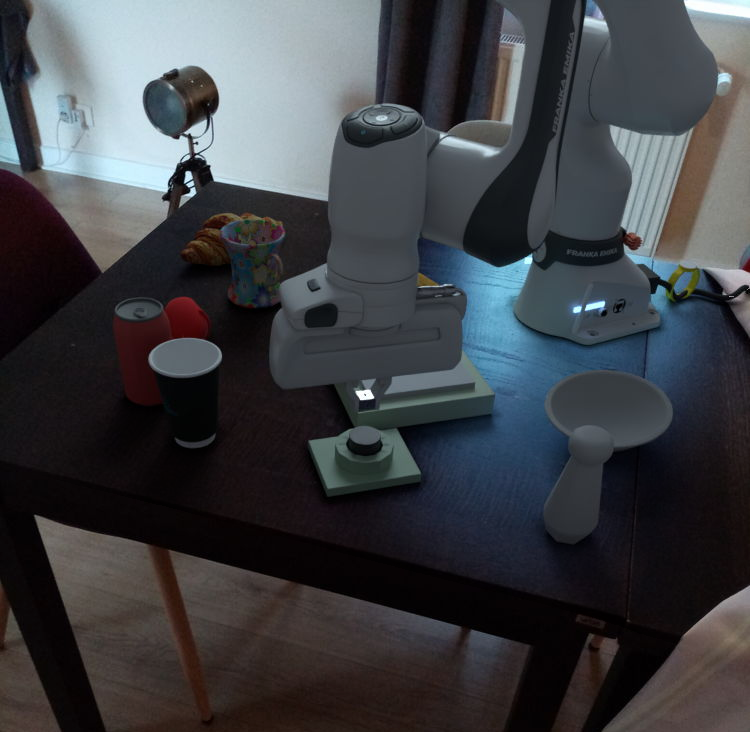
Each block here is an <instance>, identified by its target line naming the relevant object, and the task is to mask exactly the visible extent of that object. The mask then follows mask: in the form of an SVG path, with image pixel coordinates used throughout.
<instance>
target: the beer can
mask: <svg viewBox="0 0 750 732" xmlns="http://www.w3.org/2000/svg"><path fill="white" fill-rule="evenodd" d="M113 312H114V316H113V321H112V330H113V335H114V341H115V346H116V350H117V356H118V361H119V367H120V371H121V377H122V382H123V386H124V392H125V396H126V397H127V399H128V400H129V401H131V402H132V403H134V404H135V405H138V406H142V407H156V406H161V405H163V402H162V398H161V395H160V391H159V388H158V384H157V381H156V378H155V374H154V371H153V369H152V368H151V366H150V364H149V361H148V358H149V355H150V353H151V351H152V350H153V349H154V348H156V347H157V346H158V345H160V344H162V343H164V342H167V341H170V340H172V335H171V328H170V322H169V319H168V317H167V315H166V313H165V311H164V305H163V304H162V302H160V301H159V300H156V299H154V298H150V297H132V298H128V299H125V300H123V301H120V302H119V303H118V304H117V305H116V306H115V308H114V311H113Z"/></svg>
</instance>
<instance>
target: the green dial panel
mask: <svg viewBox="0 0 750 732" xmlns="http://www.w3.org/2000/svg"><path fill="white" fill-rule="evenodd" d="M352 429H353V428H348V429H347V430H346V431H344V432H342V433H340V434H339V435H338V436H332V437H325V438H318V439H317V438H316V439H311V440H308V443H307V449H308V451H309V454H310V456H311V459H312V461H313V464H314V466H315V469H316V472H317V474H318V477H319V479H320V482H321V485H322V487H323V490H324V492H325V495H326V497H328V498H329V497H334V496H336V497H337V496H342V495H347V494H354V493H360V492H365V491H372V490H378V489H385V488H390V487H391V488H392V487H397V486H402V485H408V484H409V485H410V484H415V483H420V482H421V480H422V473H421V470H420V469H419V467H418V465H417V463H416V461H415V460H414V457H413V455H412V454H411V452H410V450H409V448H408V447H407V445H406V442H405V441H404V439H403V437H402V436H401V434H400V431H399V430H398V427H396V428H389V429H382V430H378V431H379V432H380V434H381V441H380V450H379V452H378V453H377V454H375V455H371V456H361V455H355V454H354V453H352V452H351V451H350V450H349V433H350V431H351V430H352Z"/></svg>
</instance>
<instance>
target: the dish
mask: <svg viewBox="0 0 750 732" xmlns="http://www.w3.org/2000/svg"><path fill="white" fill-rule="evenodd" d="M673 408H674V407H673V405H672V402H671V400H670V398H669V397H668V395H667V394H666V393H665V392H664V391H663V390H662V389H661V388H660V387H659V386H657V385H656V384H655V383H653V382H652V381H650V380H648V379H646V378H644V377H641V376H639V375H636V374H633V373H630V372H626V371H625V372H624V371H620V370H612V369H593V370H592V369H591V370H584V371H580V372H576V373H573V374H571V375H568V376H565V377H564V378H562V379H560V380H559V381H557V382H556V383H555V384H553V386H552V387H551V388H550V389H549V391H548V392H547V394H546V396H545V399H544V413H545V416H546V417H547V419H548V421H549V423H550V424H551V425H552V427H554V428H555V429H556V430H557V431H558V432H559V433H561V434H562V435H563V436H564V437H565V438H567V439H568V440H569V438H570V436H571V434H572V432H573V431H574V430H575V429H576V428H579V427H582V426H586V425H590V426H597V427H600V428H602V429H604V430H606V431H607V432H608V433H609V434H610V435H611V437H612V438H613V439H614V450H613V452H621V451H626V450H630V449H633V448H636V447H639V446H643V445H646V444H648V443H651V442H653V441H654V440H657V439H658V438H659V437H661V436H662V435H663V434H664V433H665V432H666V431H667V429H668V428H669V427H670V426H671V423H672V422H673V421H672V420H673V416H674V409H673Z"/></svg>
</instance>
